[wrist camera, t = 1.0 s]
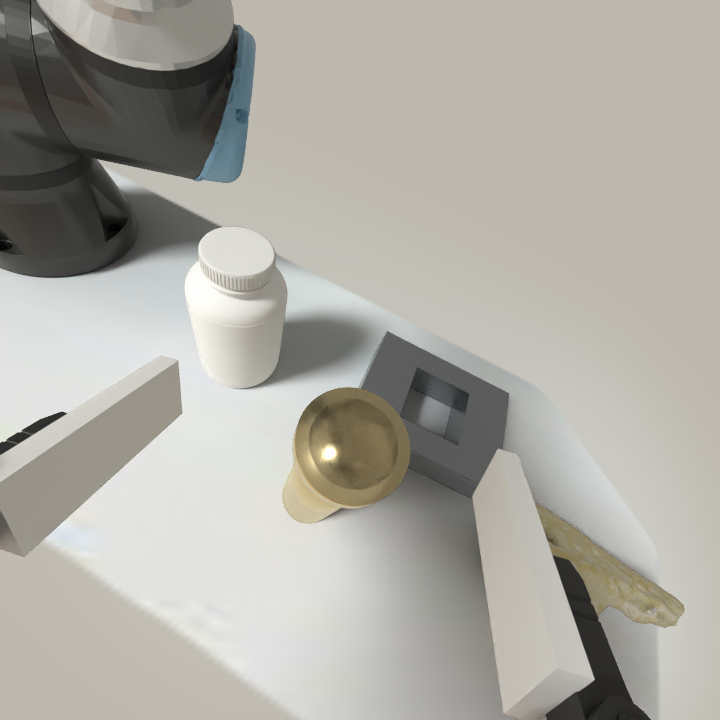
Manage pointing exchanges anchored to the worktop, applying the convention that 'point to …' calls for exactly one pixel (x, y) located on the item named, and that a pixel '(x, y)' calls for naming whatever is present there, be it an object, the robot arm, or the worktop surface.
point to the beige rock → (609, 576)
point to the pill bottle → (236, 306)
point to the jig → (467, 417)
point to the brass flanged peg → (345, 454)
